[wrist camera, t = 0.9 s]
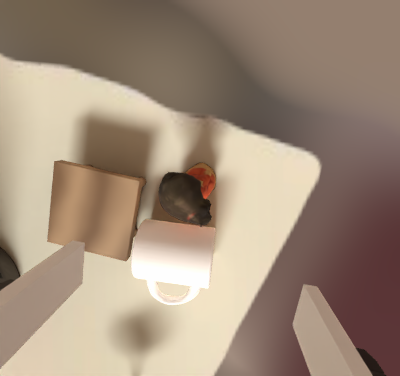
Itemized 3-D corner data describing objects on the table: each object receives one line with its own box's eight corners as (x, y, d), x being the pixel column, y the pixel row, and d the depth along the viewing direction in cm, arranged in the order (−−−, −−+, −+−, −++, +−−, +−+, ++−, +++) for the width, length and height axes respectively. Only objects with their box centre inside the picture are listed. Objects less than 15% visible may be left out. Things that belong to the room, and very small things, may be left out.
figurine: (223, 168, 35) (223, 184, 24) (212, 205, 37) (206, 237, 25) (181, 155, 36) (160, 165, 24) (171, 192, 37) (146, 218, 25)
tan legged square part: (73, 225, 39) (47, 241, 34) (81, 157, 37) (54, 161, 31) (140, 242, 39) (126, 261, 33) (153, 174, 36) (139, 181, 31)
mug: (151, 211, 38) (131, 231, 30) (216, 220, 37) (214, 242, 29) (146, 282, 40) (128, 317, 33) (208, 291, 40) (204, 329, 32)
